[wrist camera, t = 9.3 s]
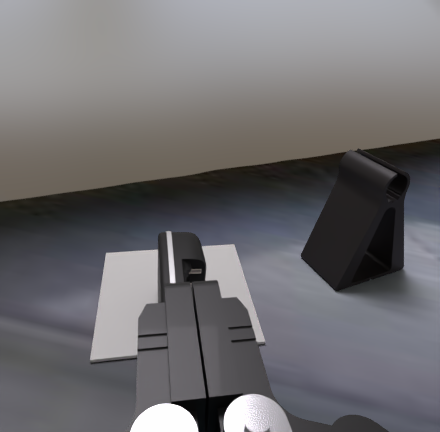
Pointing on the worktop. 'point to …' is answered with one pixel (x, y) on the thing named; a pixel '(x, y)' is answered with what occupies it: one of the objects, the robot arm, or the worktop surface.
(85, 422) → the worktop surface
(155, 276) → the mat
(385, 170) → the phone stand
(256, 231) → the worktop surface
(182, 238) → the battery charger
